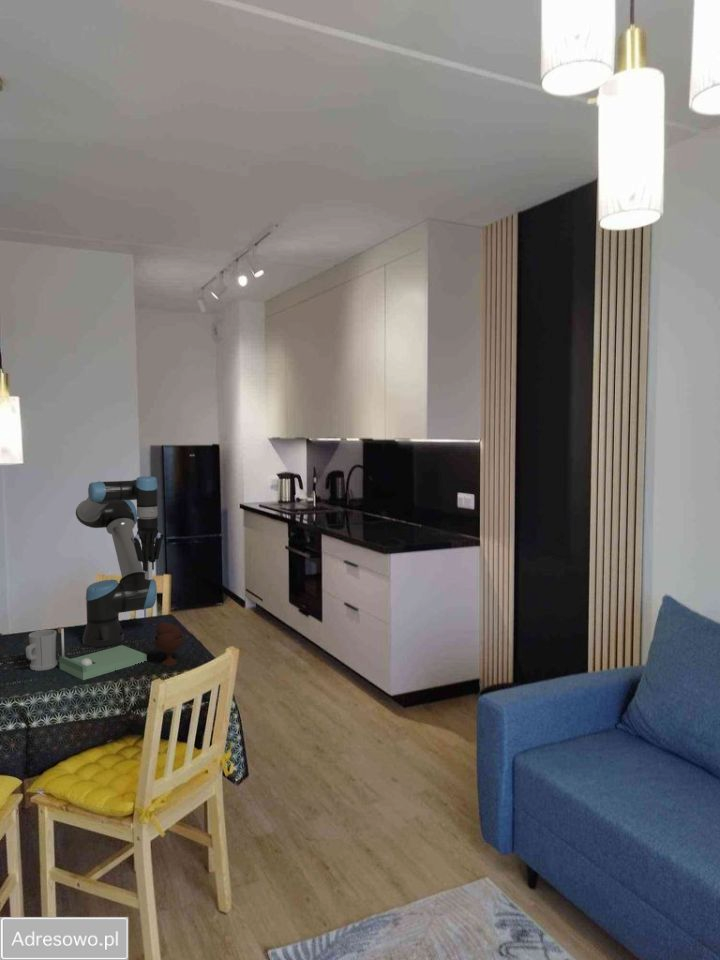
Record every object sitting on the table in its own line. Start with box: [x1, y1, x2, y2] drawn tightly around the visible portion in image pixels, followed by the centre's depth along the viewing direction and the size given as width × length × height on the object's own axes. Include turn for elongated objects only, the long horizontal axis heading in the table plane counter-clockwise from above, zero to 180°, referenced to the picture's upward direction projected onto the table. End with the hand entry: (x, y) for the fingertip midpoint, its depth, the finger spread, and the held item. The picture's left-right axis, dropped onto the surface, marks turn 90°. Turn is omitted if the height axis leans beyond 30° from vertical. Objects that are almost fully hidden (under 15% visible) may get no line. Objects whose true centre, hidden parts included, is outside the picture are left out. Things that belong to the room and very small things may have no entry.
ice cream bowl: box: [152, 621, 186, 667], centre depth 240 cm, size 11×11×15 cm
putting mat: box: [57, 626, 148, 681], centre depth 238 cm, size 17×24×14 cm
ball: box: [80, 658, 92, 666], centre depth 233 cm, size 4×4×4 cm
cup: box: [25, 629, 58, 672], centre depth 235 cm, size 10×9×12 cm
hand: (148, 579), depth 256 cm, fingers closed
